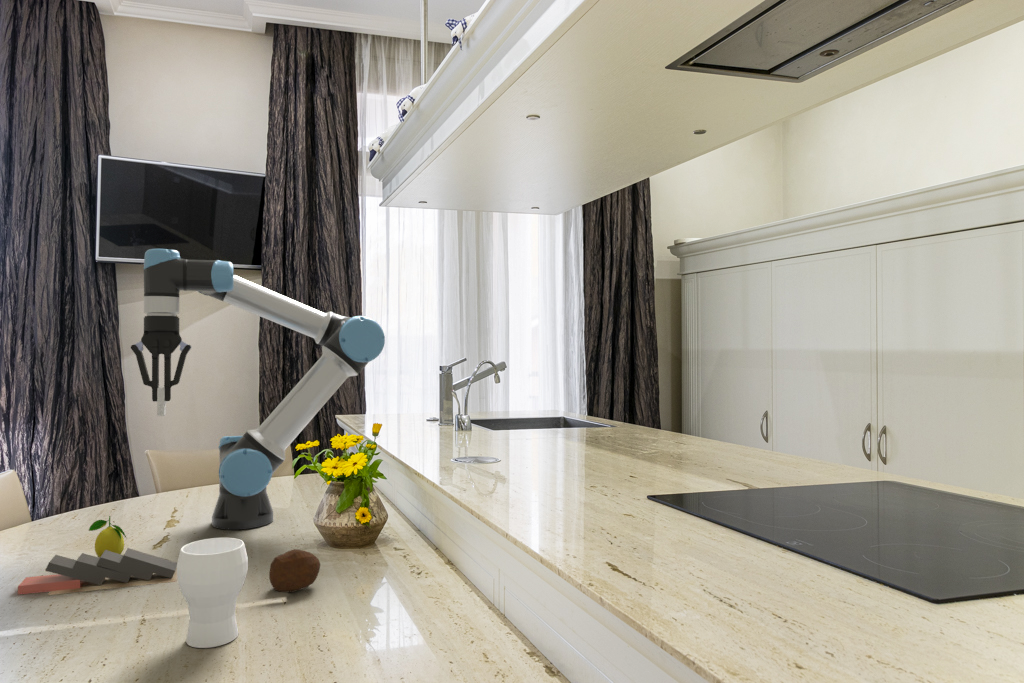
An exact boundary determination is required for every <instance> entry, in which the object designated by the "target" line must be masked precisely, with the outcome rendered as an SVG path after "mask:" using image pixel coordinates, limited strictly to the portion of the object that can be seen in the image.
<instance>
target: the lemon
mask: <svg viewBox="0 0 1024 683" xmlns="http://www.w3.org/2000/svg"><path fill="white" fill-rule="evenodd" d="M107 523H108V526H107V527H106V528H104V527H105V526H106V525H107ZM102 528H104V529H102ZM100 529H102V530H101V531H100V532H99V533H98V535H97V537H96V538H95V542H94V552H95V554H96V557H99V558H100V557H101V555H102V554H103V553H104V551H105V550H108V551H111V552H114V553H118V554H121V555H122V553H123V551H124V549H125V540H124V538H127V535H126V534H125V531H124V530H123V529H122V527H120V526H119V525H116V524H115V525H114V524H112V523H111V515H110V516H109V517H108V520H104V519H98V520H95V521H94V522H93V523H91V525H90V527H89V529H88V530H87V531H89V532H90V531H92V532H94V531H98V530H100Z"/></svg>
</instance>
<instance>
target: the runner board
mask: <svg viewBox="0 0 1024 683" xmlns="http://www.w3.org/2000/svg"><path fill="white" fill-rule="evenodd" d="M175 582H178V581H177V567H176V570H175V573H174V575H173V577H172V578H168V577H165V576H162V575H158V574H155V573H153V574H152V576H151V579H150V581H148V580H145V579H142V578H138V577H135V576H132V575H131V577H130V579H129V581H128V583H125V582H121V581H117V580H113V579H110V578H105V580H104V581H103V583H102V585H98V584H94V583H91V582H87V581H85V582H84V583H83V585H82V586H81V588H77V589H67V590H57V591H49V592H48V594H47V596H53V595H54V596H55V595H60V594H61V595H64V594H70V593H80V592H90V591H100V590H107V589H119V588H127V587H138V586H146V585H157V584H167V583H175Z"/></svg>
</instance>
